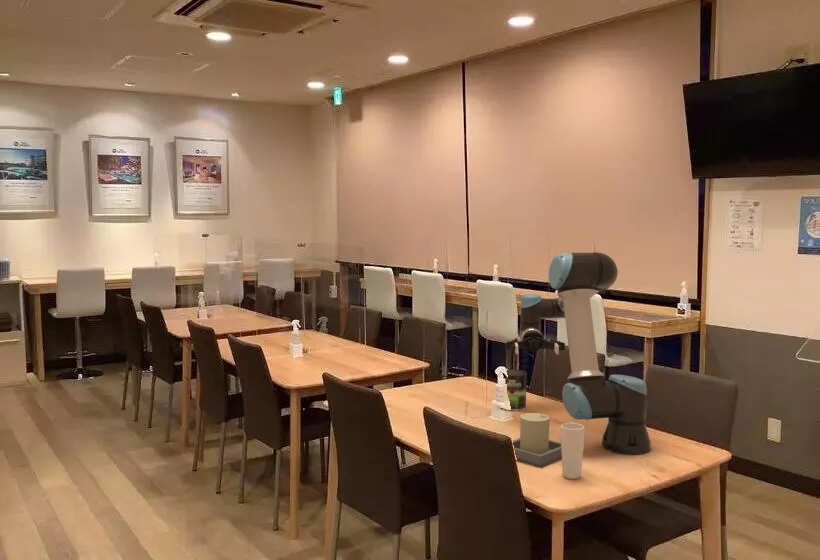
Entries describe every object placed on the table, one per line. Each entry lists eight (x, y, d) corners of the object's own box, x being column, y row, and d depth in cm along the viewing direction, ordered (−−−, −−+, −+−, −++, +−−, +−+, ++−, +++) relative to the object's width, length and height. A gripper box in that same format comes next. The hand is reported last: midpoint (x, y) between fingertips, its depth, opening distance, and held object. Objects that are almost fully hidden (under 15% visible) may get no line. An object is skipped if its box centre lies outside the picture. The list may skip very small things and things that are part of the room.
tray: (569, 455, 232) (569, 445, 231) (540, 467, 221) (540, 456, 221) (529, 444, 242) (529, 434, 242) (500, 455, 232) (500, 445, 231)
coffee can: (525, 412, 281) (525, 376, 279) (497, 410, 283) (498, 374, 282) (527, 405, 291) (528, 370, 289) (501, 403, 293) (501, 368, 292)
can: (553, 456, 228) (553, 418, 227) (524, 458, 226) (524, 420, 225) (543, 447, 237) (544, 410, 236) (515, 448, 236) (516, 411, 234)
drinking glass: (580, 472, 217) (581, 422, 216) (586, 480, 211) (587, 429, 209) (557, 472, 217) (558, 422, 216) (562, 480, 210) (563, 429, 209)
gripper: (566, 350, 269) (574, 361, 248) (498, 349, 272) (500, 360, 251) (567, 329, 269) (575, 339, 248) (498, 329, 271) (500, 339, 250)
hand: (537, 350), depth 249 cm, fingers open, 13 cm apart
